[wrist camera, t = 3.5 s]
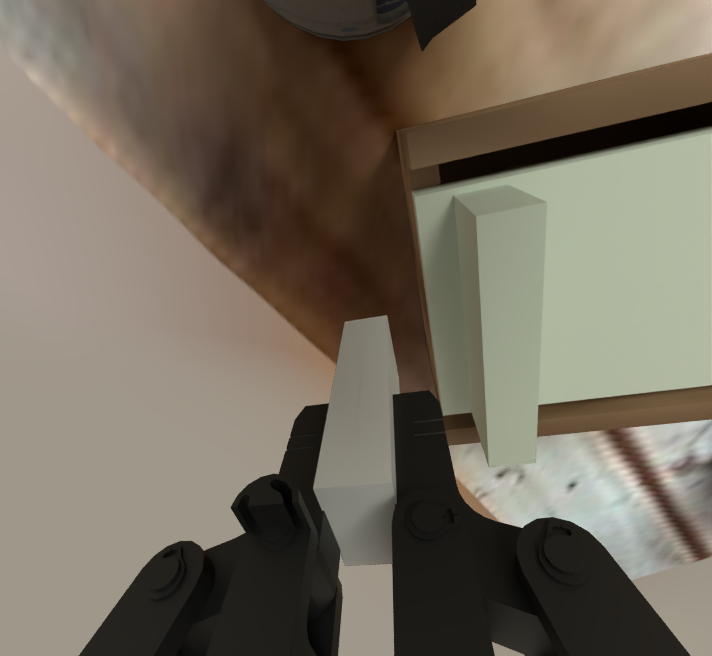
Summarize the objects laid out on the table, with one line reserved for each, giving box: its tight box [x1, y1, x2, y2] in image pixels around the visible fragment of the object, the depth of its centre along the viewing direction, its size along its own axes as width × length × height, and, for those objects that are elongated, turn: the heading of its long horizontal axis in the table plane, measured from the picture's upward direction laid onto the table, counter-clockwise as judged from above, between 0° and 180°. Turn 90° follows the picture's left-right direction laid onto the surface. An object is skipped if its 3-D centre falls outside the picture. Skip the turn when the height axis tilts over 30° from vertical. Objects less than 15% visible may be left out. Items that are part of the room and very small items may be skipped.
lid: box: [412, 126, 712, 467], centre depth 11 cm, size 9×13×4 cm
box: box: [396, 53, 712, 446], centre depth 16 cm, size 13×13×8 cm
